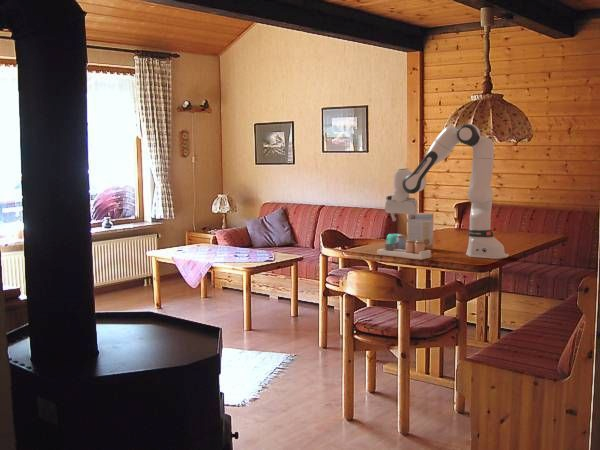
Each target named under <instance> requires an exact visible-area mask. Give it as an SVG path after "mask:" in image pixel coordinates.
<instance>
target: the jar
mask: <svg viewBox="0 0 600 450" xmlns="http://www.w3.org/2000/svg"><path fill="white" fill-rule="evenodd" d="M415 241H416V240H408V239H406V253H412V254H414V247H415Z"/></svg>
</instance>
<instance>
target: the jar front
mask: <svg viewBox="0 0 600 450" xmlns="http://www.w3.org/2000/svg"><path fill="white" fill-rule="evenodd" d="M421 251H425V249H424V241H415V247H414V254H419V252H421Z"/></svg>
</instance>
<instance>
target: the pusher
mask: <svg viewBox="0 0 600 450" xmlns="http://www.w3.org/2000/svg"><path fill="white" fill-rule="evenodd" d="M384 249H385V250H386V251H393V249H399V242H393V243H389V244H387V243H385V244H384Z"/></svg>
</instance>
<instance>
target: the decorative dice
mask: <svg viewBox="0 0 600 450" xmlns="http://www.w3.org/2000/svg"><path fill="white" fill-rule="evenodd" d="M397 235H402V234H401V233H388V234H387V235H386V244H389V243H393V242H396V236H397Z"/></svg>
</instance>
